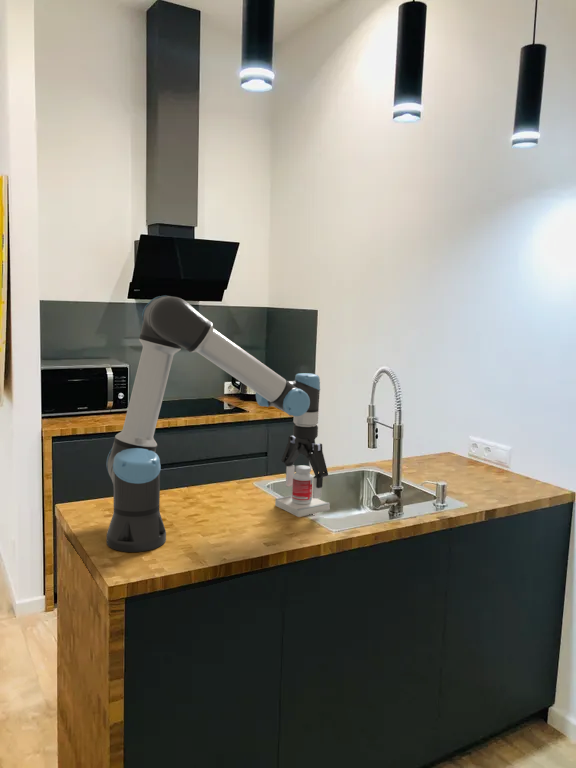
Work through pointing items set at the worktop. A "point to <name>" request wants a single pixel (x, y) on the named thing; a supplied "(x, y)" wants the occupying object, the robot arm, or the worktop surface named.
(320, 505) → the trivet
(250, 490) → the worktop surface
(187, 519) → the worktop surface
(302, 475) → the pill bottle
